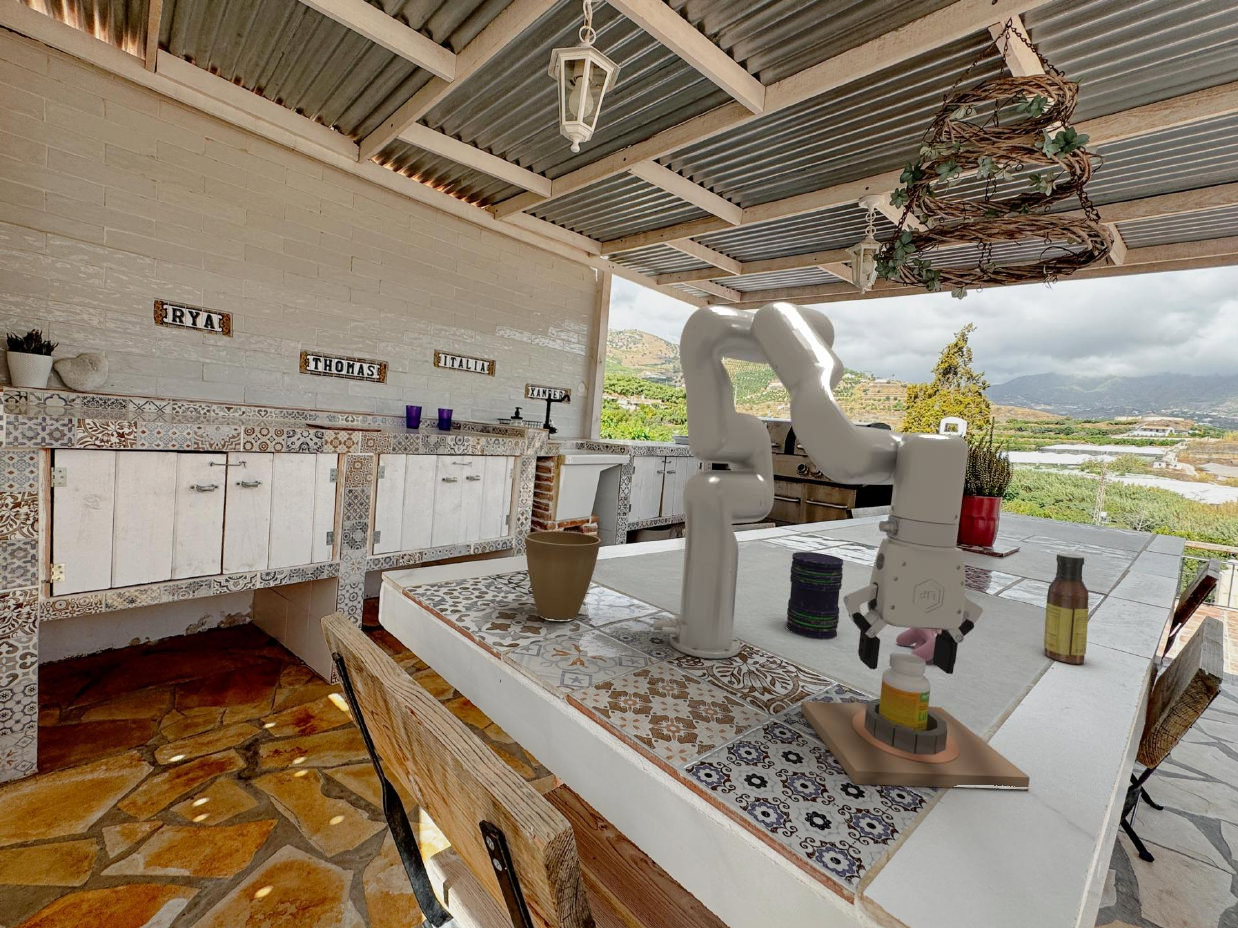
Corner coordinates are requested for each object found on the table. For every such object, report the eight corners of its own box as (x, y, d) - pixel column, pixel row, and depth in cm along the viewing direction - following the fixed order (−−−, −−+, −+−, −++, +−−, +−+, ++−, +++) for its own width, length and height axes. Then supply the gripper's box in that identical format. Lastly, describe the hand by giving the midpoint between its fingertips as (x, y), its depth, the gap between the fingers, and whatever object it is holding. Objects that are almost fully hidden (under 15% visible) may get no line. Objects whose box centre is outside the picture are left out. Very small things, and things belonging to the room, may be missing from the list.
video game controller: (933, 674, 98) (956, 642, 97) (909, 660, 98) (931, 627, 97) (914, 653, 107) (935, 624, 106) (892, 640, 108) (913, 610, 107)
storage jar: (847, 635, 111) (854, 561, 110) (817, 642, 105) (823, 565, 105) (806, 619, 119) (811, 550, 118) (775, 625, 114) (781, 553, 113)
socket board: (854, 783, 62) (858, 748, 61) (801, 711, 78) (803, 683, 77) (1028, 790, 63) (1031, 755, 62) (939, 717, 79) (942, 689, 78)
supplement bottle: (923, 749, 66) (931, 670, 66) (874, 734, 69) (881, 658, 69) (926, 731, 71) (933, 656, 71) (880, 717, 74) (886, 645, 73)
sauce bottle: (1078, 657, 107) (1089, 555, 106) (1089, 668, 101) (1101, 560, 100) (1036, 649, 110) (1047, 550, 109) (1045, 660, 104) (1057, 555, 103)
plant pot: (593, 632, 103) (598, 546, 102) (513, 626, 103) (518, 541, 103) (597, 607, 118) (602, 532, 117) (527, 602, 118) (532, 528, 117)
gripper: (868, 534, 65) (851, 676, 66) (1011, 544, 65) (992, 684, 67) (840, 522, 72) (825, 650, 73) (968, 532, 73) (952, 658, 74)
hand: (905, 666), depth 70 cm, fingers open, 9 cm apart
